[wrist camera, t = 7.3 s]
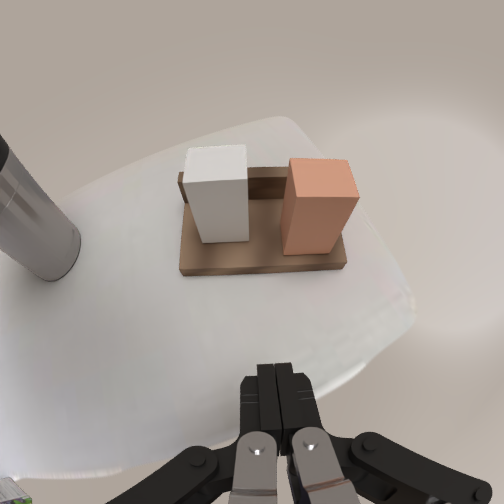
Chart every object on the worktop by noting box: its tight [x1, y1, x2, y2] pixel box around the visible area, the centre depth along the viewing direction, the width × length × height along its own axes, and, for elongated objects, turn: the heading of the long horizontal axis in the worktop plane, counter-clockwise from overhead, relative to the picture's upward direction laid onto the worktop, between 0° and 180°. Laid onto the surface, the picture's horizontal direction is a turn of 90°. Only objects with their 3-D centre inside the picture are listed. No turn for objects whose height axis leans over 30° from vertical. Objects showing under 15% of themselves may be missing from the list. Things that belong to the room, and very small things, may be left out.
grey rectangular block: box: [182, 144, 249, 243], centre depth 25 cm, size 5×4×10 cm
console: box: [178, 167, 347, 276], centre depth 29 cm, size 18×10×6 cm, turn 93°
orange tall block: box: [280, 158, 360, 255], centre depth 25 cm, size 5×4×10 cm
